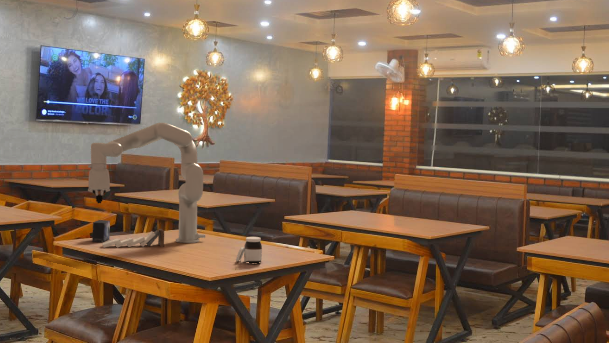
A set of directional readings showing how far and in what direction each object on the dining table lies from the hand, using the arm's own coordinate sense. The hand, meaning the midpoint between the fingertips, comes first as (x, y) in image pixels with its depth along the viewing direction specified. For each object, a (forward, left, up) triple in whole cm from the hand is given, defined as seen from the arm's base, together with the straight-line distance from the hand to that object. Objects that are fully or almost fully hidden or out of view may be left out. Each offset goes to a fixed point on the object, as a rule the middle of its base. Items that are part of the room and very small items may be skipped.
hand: (99, 203), depth 364 cm
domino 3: (-14, +6, -21) cm, 26 cm away
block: (-31, +6, -22) cm, 38 cm away
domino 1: (-1, +6, -21) cm, 22 cm away
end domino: (-24, +6, -21) cm, 32 cm away
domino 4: (-20, +6, -21) cm, 30 cm away
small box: (-3, -14, -22) cm, 26 cm away
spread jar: (-62, +60, -22) cm, 89 cm away
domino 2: (-8, +6, -21) cm, 23 cm away
